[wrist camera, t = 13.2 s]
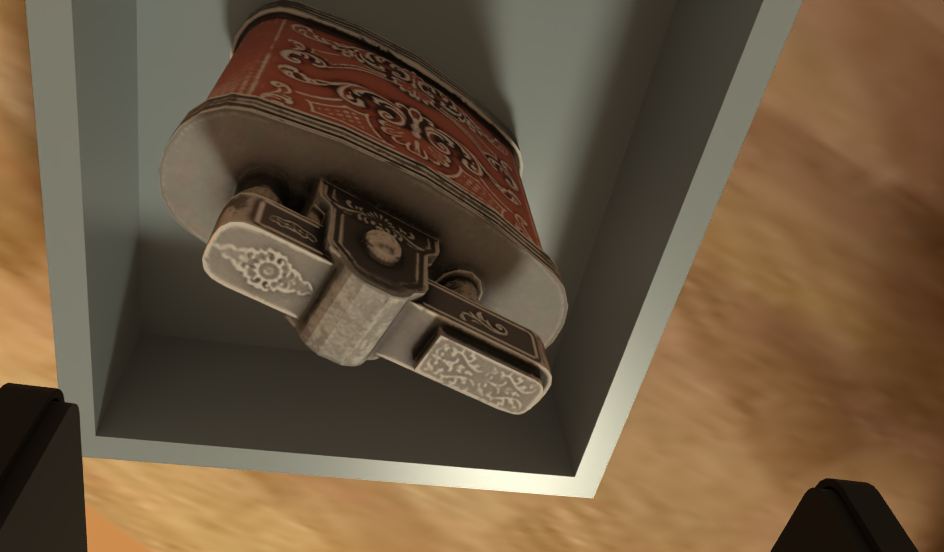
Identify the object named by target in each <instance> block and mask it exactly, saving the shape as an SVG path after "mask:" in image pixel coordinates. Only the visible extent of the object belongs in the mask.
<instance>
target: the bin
mask: <svg viewBox="0 0 944 552" xmlns="http://www.w3.org/2000/svg"><path fill="white" fill-rule="evenodd" d="M272 1H276V0H25V3H26V15H27V27H28V39H29V50H30V62H31V74H32V85H33V97H34V109H35V121H36V132H37V144H38V156H39V168H40V179H41V191H42V203H43V215H44V226H45V238H46V250H47V262H48V273H49V285H50V297H51V308H52V320H53V332H54V344H55V355H56V367H57V379H58V389H60V390H61V391H62V392H63V394H64V400H65V402H67V403H75V404H77V405H78V407H79V412H80V429H81V447H82V457H90V458H102V459H115V460H127V461H139V462H152V463H164V464H176V465H189V466H201V467H213V468H226V469H238V470H250V471H263V472H275V473H287V474H300V475H312V476H324V477H337V478H349V479H361V480H374V481H386V482H398V483H411V484H423V485H435V486H448V487H460V488H472V489H485V490H497V491H509V492H522V493H534V494H546V495H559V496H571V497H583V498H593V497H594V495H595V493H596V490H597V488H598V486H599V483H600V481H601V478H602V476H603V474H604V471H605V469H606V467H607V464H608V462H609V459H610V457H611V455H612V452H613V450H614V448H615V445H616V443H617V440H618V438H619V436H620V433H621V431H622V429H623V426H624V424H625V421H626V419H627V417H628V414H629V412H630V410H631V407H632V405H633V402H634V400H635V398H636V395H637V393H638V391H639V388H640V386H641V383H642V381H643V379H644V376H645V374H646V372H647V369H648V367H649V364H650V362H651V360H652V357H653V355H654V353H655V350H656V348H657V345H658V343H659V341H660V338H661V336H662V334H663V331H664V329H665V327H666V324H667V322H668V319H669V317H670V315H671V312H672V310H673V308H674V305H675V303H676V300H677V298H678V296H679V293H680V291H681V289H682V286H683V284H684V281H685V279H686V277H687V274H688V272H689V270H690V267H691V265H692V262H693V260H694V258H695V255H696V253H697V251H698V248H699V246H700V243H701V241H702V239H703V236H704V234H705V232H706V229H707V227H708V224H709V222H710V220H711V217H712V215H713V213H714V210H715V208H716V205H717V203H718V201H719V198H720V196H721V194H722V191H723V189H724V186H725V184H726V182H727V179H728V177H729V175H730V172H731V170H732V167H733V165H734V163H735V160H736V158H737V156H738V153H739V151H740V149H741V146H742V144H743V141H744V139H745V137H746V134H747V132H748V130H749V127H750V125H751V122H752V120H753V118H754V115H755V113H756V111H757V108H758V106H759V103H760V101H761V99H762V96H763V94H764V92H765V89H766V87H767V84H768V82H769V80H770V77H771V75H772V73H773V70H774V68H775V65H776V63H777V61H778V58H779V56H780V54H781V51H782V49H783V46H784V44H785V42H786V39H787V37H788V35H789V32H790V30H791V27H792V25H793V23H794V20H795V18H796V16H797V13H798V11H799V8H800V6H801V4H802V1H803V0H293V1H299V2H302V3H305V4H307V5H310V6H312V7H315V8H318V9H320V10H323V11H325V12H328V13H331V14H333V15H336V16H338V17H341V18H344V19H346V20H349V21H352V22H354V23H357V24H359V25H361V26H363V27H365V28H367V29H369V30H371V31H373V32H375V33H377V34H379V35H381V36H383V37H384V38H386V39H388V40H390V41H392V42H394V43H396V44H398V45H400V46H402V47H404V48H406V49H407V50H409V51H411V52H413V53H415V54H417V55H419V56H420V57H421V58H423V59H424V60H426V61H427V62H428V63H430V64H431V65H433V66H434V67H435V68H437V69H438V70H440V71H441V72H442V73H444V74H445V75H447V76H448V77H449V78H451V79H452V80H454V81H455V82H456V83H458V84H459V85H461V86H462V87H463V88H465V89H466V90H468V91H469V92H470V93H471V94H472V95H473V96H474V97H475V98H476V99H478V100H479V101H480V102H481V103H482V104H483V105H484V106H485V107H486V108H487V109H488V110H490V111H491V112H492V113H493V114H494V115H495V116H496V117H497V118H498V119H499V120H500V121H502V122H503V123H504V124H505V125H506V126H507V127H508V128H509V129H510V131H511V132H512V133H513V135H514V136H515V138H516V139H517V142H518V146H519V149H520V152H521V157H522V162H523V172H522V178H521V180H522V183H523V187H524V190H525V193H526V196H527V200H528V203H529V206H530V210H531V213H532V216H533V220H534V223H535V226H536V229H537V233H538V236H539V239H540V243H541V246H542V249H543V251H544V252H545V253H546V254H548V255H549V257H550V258H551V259H552V261H553V262H554V263H555V265H556V266H557V268H558V269H559V272H560V275H561V278H562V282H563V285H564V288H565V292H566V297H567V303H568V309H567V314H566V318H565V323H564V326H563V327H562V329H561V330H560V332H559V334H558V335H557V337H556V339H555V340H554V342H553V343H552V344H550V345H549V346H548V347H547V348H546V349H545V351H546V355H547V359H548V363H549V367H550V371H551V375H552V381H551V386H550V387H549V389H548V391H547V392H546V394H545V395H544V396H543V397H542V398H541V399H540V401H539V402H538V403H537V404H535V405H534V406H533V407H532V408H531V409H529V410H527V411H526V412H525V413H522V414H512V413H508V412H505V411H502V410H499V409H496V408H494V407H492V406H490V405H487V404H485V403H483V402H481V401H479V400H476V399H474V398H472V397H470V396H467V395H465V394H463V393H461V392H459V391H456V390H454V389H452V388H450V387H447V386H445V385H443V384H441V383H439V382H436V381H434V380H432V379H430V378H427V377H425V376H423V375H421V374H419V373H416V372H414V371H412V370H410V369H408V368H405V367H403V366H401V365H399V364H396V363H394V362H392V361H390V360H388V359H385V358H383V357H381V356H380V357H379V358H378V359H375V360H366V361H365V362H364V363H362V364H361V365H358V366H344V365H340V364H338V363H335V362H333V361H331V360H328V359H326V358H324V357H322V356H319V355H317V354H316V353H314V352H313V351H312V350H311V349H309V348H308V347H307V346H306V345H305V344H304V343H303V342H302V341H301V339H300V338H299V336H298V334H297V332H296V330H295V328H294V327H293V326H292V325H291V324H290V323H289V322H288V321H287V320H286V319H285V317H284V315H283V312H281V311H279V310H276V309H274V308H272V307H270V306H268V305H265V304H263V303H261V302H259V301H256V300H254V299H252V298H250V297H248V296H245V295H243V294H241V293H239V292H236V291H234V290H232V289H230V288H228V287H225V286H223V285H222V284H220V283H218V282H217V281H215V280H213V279H211V277H210V276H209V275H208V274H207V273H206V271H205V270H204V268H203V262H202V258H203V255H204V251H205V248H206V246H207V244H206V243H205V242H203V241H202V240H200V239H199V238H197V237H196V236H194V235H193V234H191V233H190V232H188V231H187V230H186V229H185V228H184V227H183V226H182V225H181V224H180V223H179V222H178V221H177V220H176V219H174V218H173V217H172V216H171V214H170V212H169V210H168V208H167V206H166V204H165V202H164V200H163V198H162V196H161V194H160V184H159V174H158V169H159V165H160V162H161V158H162V154H163V151H164V147H165V145H166V144H167V142H168V141H169V139H170V138H171V136H172V134H173V133H174V131H175V130H176V128H177V127H178V126H179V124H180V123H181V122H182V120H183V119H184V118H185V116H186V115H187V113H188V112H189V111H190V110H191V109H193V108H195V107H196V106H198V105H199V104H201V103H202V102H204V101H205V100H206V99H207V98H208V96H209V94H210V93H211V91H212V89H213V88H214V86H215V84H216V83H217V81H218V79H219V78H220V76H221V74H222V73H223V71H224V69H225V68H226V66H227V64H228V63H229V61H230V52H231V48H232V45H233V42H234V38H235V36H236V34H237V33H238V31H239V30H240V28H241V27H242V25H243V24H244V22H245V21H246V20H247V18H248V17H249V16H250V14H251V13H252V12H253V11H255V10H256V9H258V8H259V7H261V6H262V5H264V4H265V3H267V2H272Z"/></svg>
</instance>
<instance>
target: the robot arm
mask: <svg viewBox="0 0 944 552" xmlns="http://www.w3.org/2000/svg"><path fill="white" fill-rule="evenodd" d="M0 552H87V535H86V517H85V500H84V482H83V464H82V447H81V429H80V412H79V407H78V405H77V404H75V403H67V402H65V400H64V394H63V392H62V391H61V390H60V389H56V388H48V387H39V386H30V385H22V384H13V383H7V384H5V385H3V386H2V387H1V388H0ZM771 552H918V550H917V549H916V547H915V546H914V544H913V543H912V541H911V540H910V538H909V537H908V535H907V534H906V532H905V531H904V529H903V528H902V526H901V525H900V523H899V522H898V520H897V519H896V517H895V516H894V514H893V513H892V511H891V509H890V508H889V506H888V505H887V503H886V502H885V500H884V499H883V497H882V496H881V494H880V493H879V492H878V491H877V489H876V488H875V487H874V486H872V485H870V484H869V483H865V482H856V481H848V480H839V479H827V478H826V479H824V480H822V481H820V482H819V483H818V485H817V486H816V487H815V488H811V489H809V490H808V491H807V492H806V493H805V494H804V496H803V498H802V500H801V501H800V503H799V505H798V506H797V508H796V510H795V511H794V513H793V515H792V516H791V518H790V520H789V521H788V523H787V525H786V526H785V528H784V530H783V531H782V533H781V535H780V537H779V538H778V540H777V542H776V543H775V545H774V547H773V548H772V550H771Z"/></svg>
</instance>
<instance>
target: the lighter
mask: <svg viewBox="0 0 944 552" xmlns="http://www.w3.org/2000/svg"><path fill="white" fill-rule="evenodd" d="M522 172H523V162H522V157H521V152H520V149H519V146H518V142H517V139H516V138H515V136H514V135H513V133H512V132H511V131H510V129H509V128H508V127H507V126H506V125H505V124H504V123H503V122H502V121H500V120H499V119H498V118H497V117H496V116H495V115H494V114H493V113H492V112H491V111H490V110H488V109H487V108H486V107H485V106H484V105H483V104H482V103H481V102H480V101H479V100H478V99H476V98H475V97H474V96H473V95H472V94H471V93H470V92H469V91H468V90H466V89H465V88H463V87H462V86H461V85H459V84H458V83H456V82H455V81H454V80H452V79H451V78H449V77H448V76H447V75H445V74H444V73H442V72H441V71H440V70H438V69H437V68H435V67H434V66H433V65H431V64H430V63H428V62H427V61H426V60H424V59H423V58H421V57H420V56H419V55H417V54H415V53H413V52H411V51H409V50H407V49H406V48H404V47H402V46H400V45H398V44H396V43H394V42H392V41H390V40H388V39H386V38H384V37H383V36H381V35H379V34H377V33H375V32H373V31H371V30H369V29H367V28H365V27H363V26H361V25H359V24H357V23H354V22H352V21H349V20H346V19H344V18H341V17H338V16H336V15H333V14H331V13H328V12H325V11H323V10H320V9H318V8H315V7H312V6H310V5H307V4H305V3H302V2H299V1H293V0H276V1H272V2H267V3H265V4H264V5H262V6H261V7H259V8H258V9H256V10H255V11H253V12H252V13H251V14H250V16H249V17H248V18H247V20H246V21H245V22H244V24H243V25H242V27H241V28H240V30H239V31H238V33H237V34H236V36H235V38H234V42H233V45H232V48H231V52H230V61H229V63H228V64H227V66H226V68H225V69H224V71H223V73H222V74H221V76H220V78H219V79H218V81H217V83H216V84H215V86H214V88H213V89H212V91H211V93H210V94H209V96H208V98H207V99H206V100H205V101H204V102H202V103H201V104H199V105H198V106H196V107H195V108H193V109H191V110H190V111H189V112H188V113H187V115H186V116H185V118H184V119H183V120H182V122H181V123H180V124H179V126H178V127H177V128H176V130H175V131H174V133H173V134H172V136H171V138H170V139H169V141H168V142H167V144H166V145H165V147H164V151H163V154H162V158H161V162H160V165H159V169H158V174H159V184H160V194H161V196H162V198H163V200H164V202H165V204H166V206H167V208H168V210H169V212H170V214H171V216H172V217H173V218H174V219H176V220H177V221H178V222H179V223H180V224H181V225H182V226H183V227H184V228H185V229H186V230H187V231H188V232H190V233H191V234H193V235H194V236H196V237H197V238H199V239H200V240H202V241H203V242H205V243H206V244H207V246H206V248H205V251H204V255H203V258H202V262H203V268H204V270H205V271H206V273H207V274H208V275H209V276H210V277H211V279H213V280H215V281H217V282H218V283H220V284H222V285H223V286H225V287H228V288H230V289H232V290H234V291H236V292H239V293H241V294H243V295H245V296H248V297H250V298H252V299H254V300H256V301H259V302H261V303H263V304H265V305H268V306H270V307H272V308H274V309H276V310H279V311H281V312H283V315H284V317H285V319H286V320H287V321H288V322H289V323H290V324H291V325H292V326H293V327H294V328H295V330H296V332H297V334H298V336H299V338H300V339H301V341H302V342H303V343H304V344H305V345H306V346H307V347H308V348H309V349H311V350H312V351H313V352H314V353H316V354H317V355H319V356H322V357H324V358H326V359H328V360H331V361H333V362H335V363H338V364H340V365H344V366H358V365H361V364H362V363H364V362H365V361H366V360H375V359H378V358H379V357H380V356H381V357H383V358H385V359H388V360H390V361H392V362H394V363H396V364H399V365H401V366H403V367H405V368H408V369H410V370H412V371H414V372H416V373H419V374H421V375H423V376H425V377H427V378H430V379H432V380H434V381H436V382H439V383H441V384H443V385H445V386H447V387H450V388H452V389H454V390H456V391H459V392H461V393H463V394H465V395H467V396H470V397H472V398H474V399H476V400H479V401H481V402H483V403H485V404H487V405H490V406H492V407H494V408H496V409H499V410H502V411H505V412H508V413H512V414H522V413H525V412H526V411H527V410H529V409H531V408H532V407H533V406H534V405H535V404H537V403H538V402H539V401H540V399H541V398H542V397H543V396H544V395H545V394H546V392H547V391H548V389H549V387H550V386H551V381H552V375H551V371H550V367H549V363H548V359H547V355H546V351H545V349H546V348H547V347H548V346H549V345H550V344H552V343H553V342H554V340H555V339H556V337H557V335H558V334H559V332H560V330H561V329H562V327H563V326H564V323H565V318H566V314H567V309H568V303H567V297H566V292H565V288H564V285H563V282H562V278H561V275H560V272H559V269H558V268H557V266H556V265H555V263H554V262H553V261H552V259H551V258H550V257H549V255H548V254H546V253H545V252H544V251H543V249H542V246H541V243H540V239H539V236H538V233H537V229H536V226H535V223H534V220H533V216H532V213H531V210H530V206H529V203H528V200H527V196H526V193H525V190H524V187H523V183H522V180H521V178H522Z"/></svg>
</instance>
